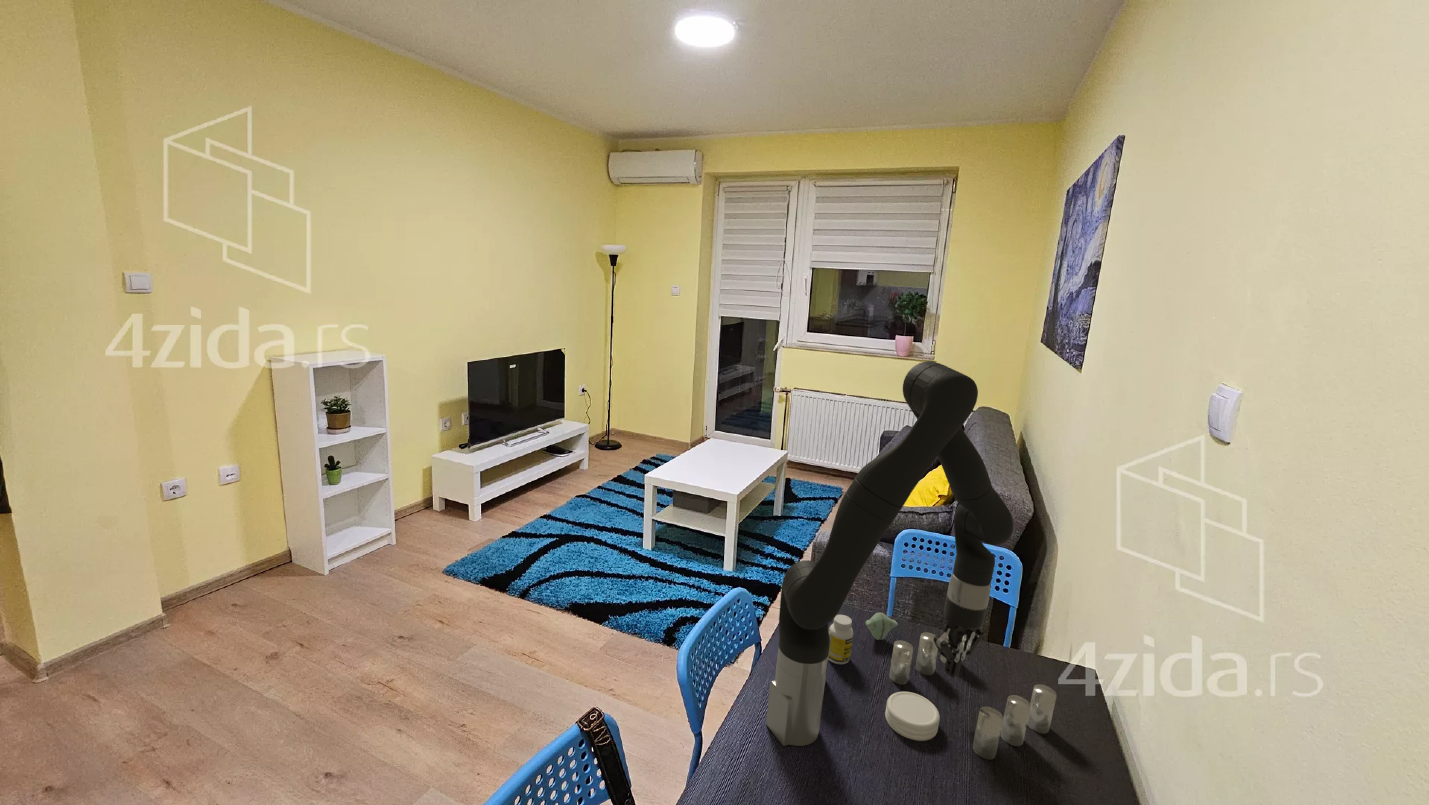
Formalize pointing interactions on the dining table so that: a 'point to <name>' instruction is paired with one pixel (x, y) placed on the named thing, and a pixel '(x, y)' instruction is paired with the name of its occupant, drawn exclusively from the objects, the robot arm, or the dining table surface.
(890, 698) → the white round lidded container
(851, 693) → the dining table surface
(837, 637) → the supplement bottle
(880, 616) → the pale green rounded piece
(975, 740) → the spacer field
